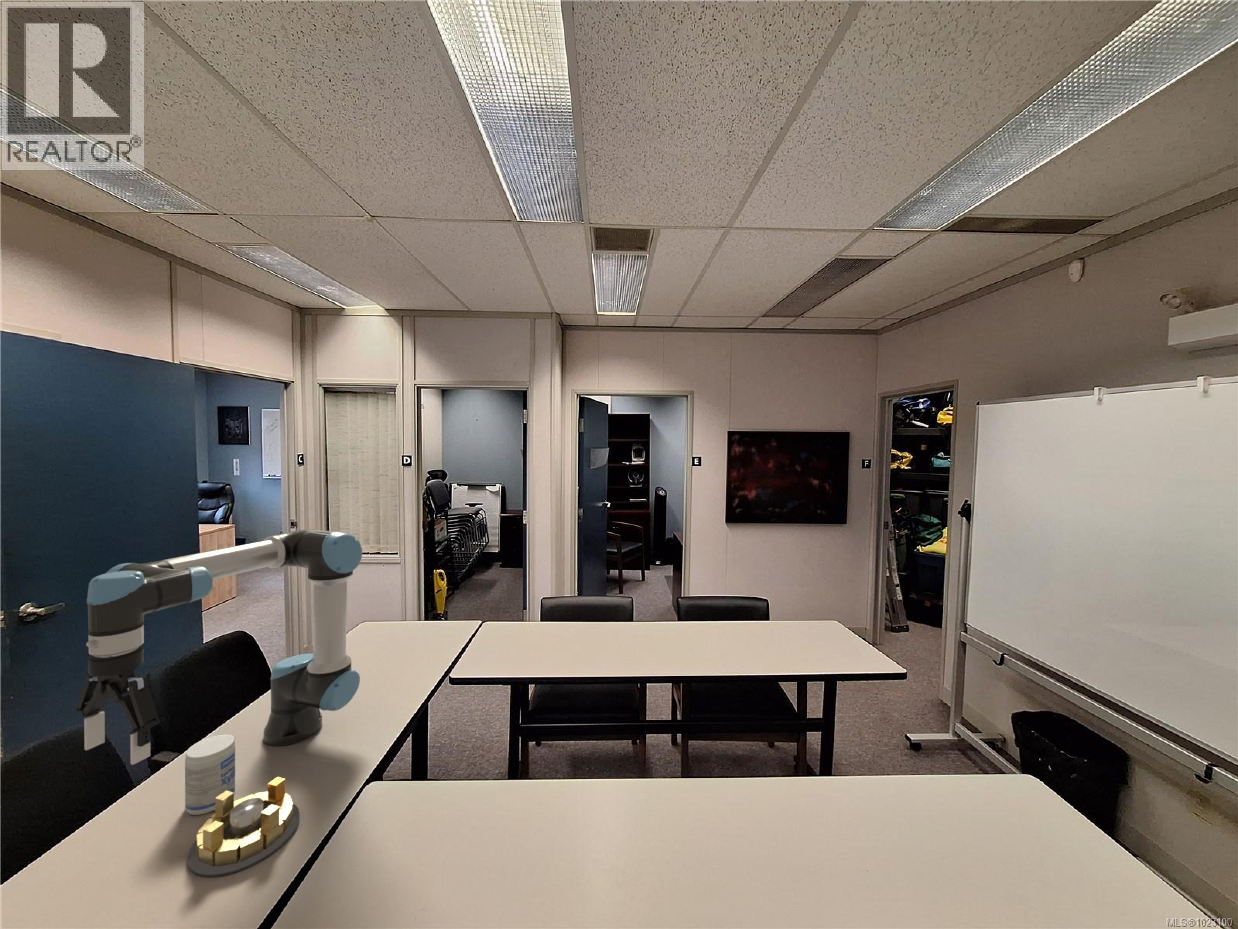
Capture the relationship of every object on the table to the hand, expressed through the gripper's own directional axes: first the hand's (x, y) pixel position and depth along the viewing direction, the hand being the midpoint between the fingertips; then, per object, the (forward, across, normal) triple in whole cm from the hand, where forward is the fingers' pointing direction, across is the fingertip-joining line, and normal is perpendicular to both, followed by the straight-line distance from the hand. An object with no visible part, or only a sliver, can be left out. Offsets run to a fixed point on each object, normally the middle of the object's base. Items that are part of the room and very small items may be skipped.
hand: (117, 753), depth 92 cm
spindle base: (+28, +13, +16) cm, 35 cm away
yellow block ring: (+27, +13, +16) cm, 34 cm away
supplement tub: (+28, -6, +21) cm, 36 cm away
